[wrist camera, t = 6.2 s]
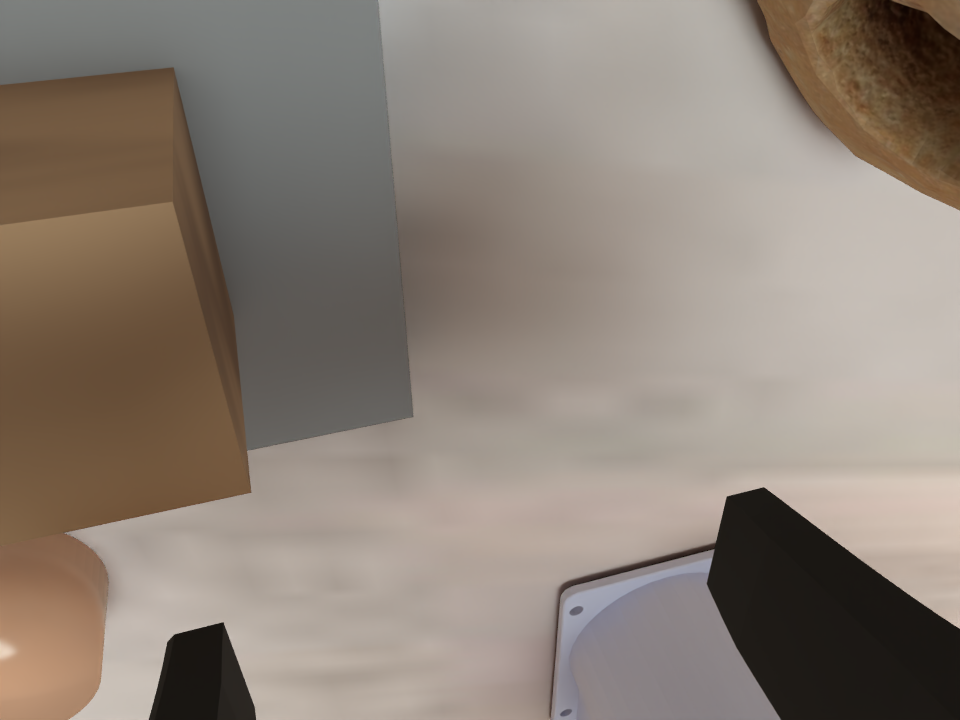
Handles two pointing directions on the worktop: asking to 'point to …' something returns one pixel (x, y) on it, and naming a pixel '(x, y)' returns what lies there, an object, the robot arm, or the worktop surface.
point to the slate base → (269, 183)
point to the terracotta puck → (50, 627)
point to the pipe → (880, 81)
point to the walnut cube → (110, 311)
